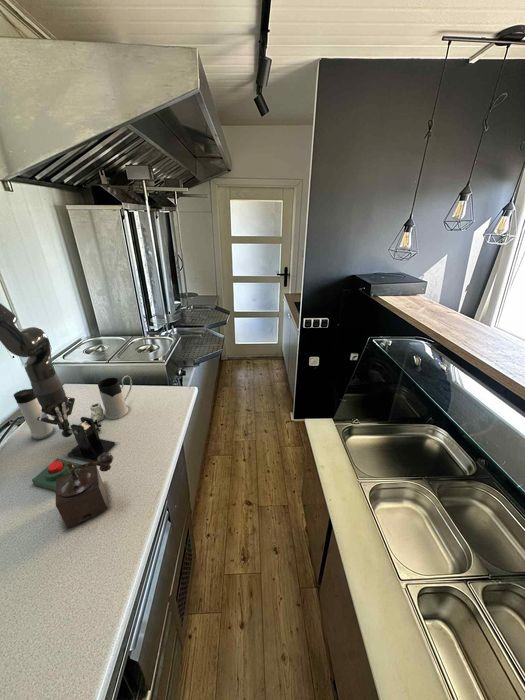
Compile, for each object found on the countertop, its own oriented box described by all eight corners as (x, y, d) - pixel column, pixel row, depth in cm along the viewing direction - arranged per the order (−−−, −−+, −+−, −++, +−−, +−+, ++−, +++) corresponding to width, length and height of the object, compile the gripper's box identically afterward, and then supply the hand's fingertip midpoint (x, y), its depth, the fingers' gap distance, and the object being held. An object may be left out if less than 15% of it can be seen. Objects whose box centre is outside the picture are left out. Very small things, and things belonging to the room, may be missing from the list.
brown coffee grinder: (66, 531, 76) (41, 485, 68) (65, 500, 84) (43, 455, 76) (128, 502, 83) (112, 457, 75) (121, 475, 92) (107, 432, 84)
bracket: (68, 456, 99) (55, 428, 94) (88, 438, 107) (78, 411, 102) (96, 463, 96) (85, 434, 91) (115, 444, 104) (106, 416, 99)
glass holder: (101, 415, 120) (91, 385, 113) (129, 397, 131) (122, 369, 124) (114, 421, 116) (105, 390, 109) (143, 402, 127) (135, 373, 120)
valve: (91, 416, 119) (84, 436, 108) (87, 403, 116) (79, 422, 106) (109, 413, 120) (103, 432, 110) (105, 400, 118) (99, 418, 107)
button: (47, 472, 89) (45, 468, 88) (57, 463, 92) (55, 459, 91) (56, 474, 88) (54, 470, 87) (66, 465, 91) (64, 461, 90)
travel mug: (30, 441, 106) (8, 397, 98) (38, 429, 112) (18, 387, 103) (48, 439, 107) (28, 395, 99) (56, 427, 113) (37, 384, 105)
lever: (63, 440, 101) (57, 433, 100) (71, 433, 104) (65, 427, 103) (84, 432, 95) (78, 424, 95) (92, 426, 98) (86, 418, 97)
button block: (34, 485, 89) (29, 476, 87) (59, 462, 97) (55, 454, 95) (61, 493, 86) (57, 483, 85) (85, 469, 94) (82, 460, 92)
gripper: (57, 376, 100) (72, 415, 107) (19, 397, 88) (39, 440, 96) (74, 378, 98) (88, 418, 106) (37, 401, 86) (57, 444, 94)
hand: (65, 428), depth 101 cm, fingers closed
